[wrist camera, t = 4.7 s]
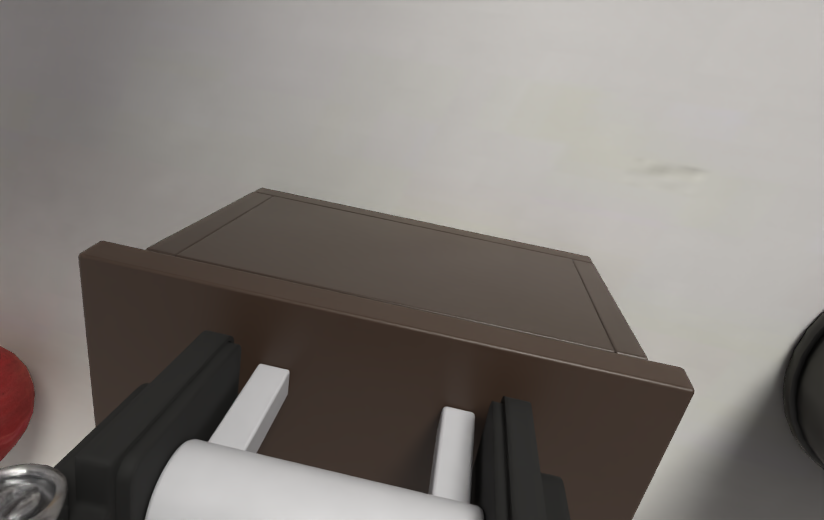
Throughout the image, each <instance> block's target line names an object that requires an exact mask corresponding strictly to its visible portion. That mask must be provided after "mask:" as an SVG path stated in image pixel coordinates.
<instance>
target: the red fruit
mask: <svg viewBox="0 0 824 520" xmlns="http://www.w3.org/2000/svg"><path fill="white" fill-rule="evenodd" d="M34 397H35V391H34V385H33V382H32V379H31V377H30V374H29V372H28V369H27V367H26V366H25V365H24V364H23V363H22V362H21V361H20V360H19V358H18V357H17V356H16V355H15V354H14V353H12V352H10V351H9V350H7V349H5V348H3V347H1V346H0V461H1V460H2V459H3V458H4V457H5V456H6V455H7V454H8V453H9V451H10V450H11V449H12V448H13V447H14V446H15V445H16V443H17V442H18V440H19V439H20V438H21V436H22V435H23V433H24V432H25V430H26V429H27V426H28V424H29V421H30V419H31V416H32V414H33V407H34Z"/></svg>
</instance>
